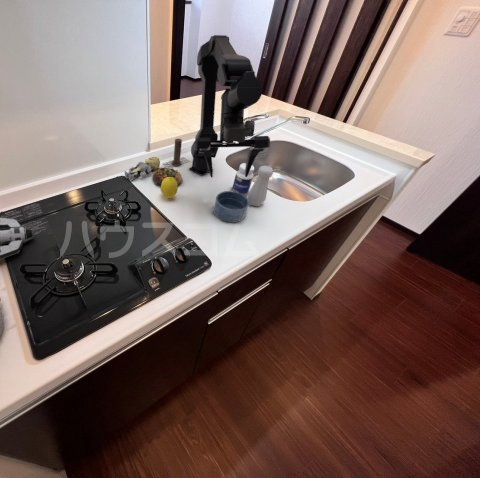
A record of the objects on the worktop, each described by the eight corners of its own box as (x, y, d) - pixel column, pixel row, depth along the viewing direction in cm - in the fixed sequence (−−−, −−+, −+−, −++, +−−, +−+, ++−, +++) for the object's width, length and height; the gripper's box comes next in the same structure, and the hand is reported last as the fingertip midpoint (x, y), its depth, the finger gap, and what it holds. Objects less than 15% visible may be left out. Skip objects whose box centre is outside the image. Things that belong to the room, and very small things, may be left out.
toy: (119, 167, 94) (149, 151, 101) (122, 179, 98) (151, 163, 104) (133, 173, 90) (164, 156, 96) (136, 186, 93) (165, 168, 100)
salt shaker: (263, 209, 85) (277, 174, 75) (246, 206, 85) (257, 171, 76) (262, 199, 89) (275, 164, 80) (245, 196, 89) (256, 162, 80)
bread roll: (149, 185, 92) (150, 172, 88) (154, 173, 100) (156, 161, 97) (180, 190, 91) (182, 177, 88) (183, 178, 100) (185, 165, 97)
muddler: (170, 164, 104) (171, 139, 97) (176, 161, 106) (178, 137, 99) (176, 167, 102) (178, 142, 95) (182, 164, 104) (185, 140, 97)
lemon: (179, 195, 88) (181, 175, 83) (172, 204, 85) (174, 183, 79) (164, 191, 90) (165, 171, 84) (157, 200, 86) (158, 179, 81)
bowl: (207, 212, 82) (209, 199, 79) (224, 200, 88) (227, 187, 84) (233, 227, 78) (237, 214, 74) (250, 213, 83) (255, 200, 79)
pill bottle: (229, 194, 90) (236, 168, 83) (233, 186, 94) (239, 160, 87) (246, 198, 89) (254, 172, 82) (248, 189, 93) (257, 164, 86)
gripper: (196, 109, 60) (194, 178, 64) (280, 106, 58) (273, 177, 62) (195, 118, 71) (194, 177, 75) (266, 115, 68) (261, 176, 72)
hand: (228, 177), depth 71 cm, fingers open, 9 cm apart
